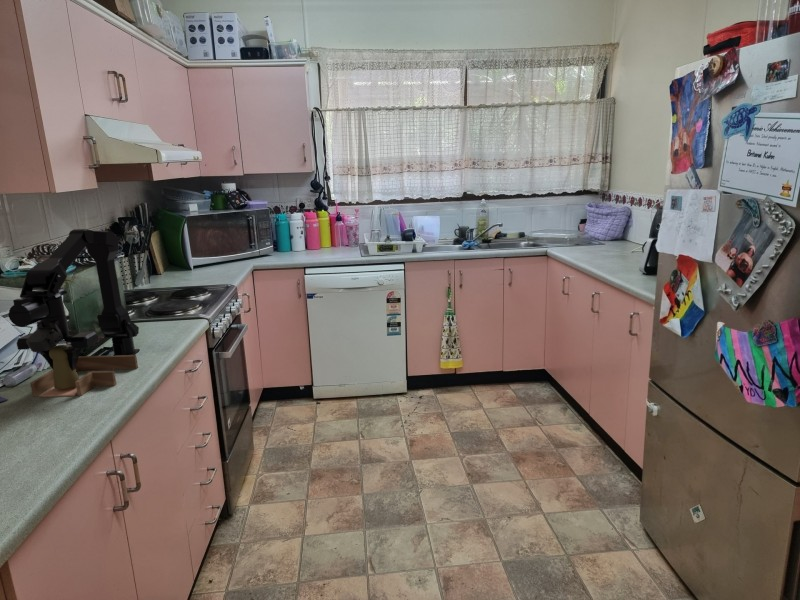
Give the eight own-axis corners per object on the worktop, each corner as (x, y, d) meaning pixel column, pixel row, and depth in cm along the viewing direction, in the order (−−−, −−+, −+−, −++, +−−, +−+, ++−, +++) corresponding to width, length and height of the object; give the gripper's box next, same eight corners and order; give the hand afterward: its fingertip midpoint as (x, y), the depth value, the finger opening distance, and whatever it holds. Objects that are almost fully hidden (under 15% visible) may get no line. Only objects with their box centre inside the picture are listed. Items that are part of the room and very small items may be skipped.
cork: (84, 379, 145) (77, 341, 142) (72, 388, 139) (64, 349, 137) (62, 380, 145) (54, 342, 142) (49, 389, 139) (40, 350, 136)
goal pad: (62, 382, 147) (62, 381, 147) (94, 381, 147) (93, 380, 147) (40, 396, 138) (40, 395, 138) (74, 395, 138) (73, 394, 138)
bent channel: (77, 369, 157) (74, 356, 156) (138, 367, 156) (136, 355, 155) (33, 396, 138) (30, 382, 137) (102, 395, 138) (99, 381, 137)
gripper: (-6, 325, 130) (8, 383, 134) (68, 323, 129) (80, 381, 133) (25, 312, 140) (38, 366, 144) (94, 310, 140) (104, 365, 144)
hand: (64, 370), depth 141 cm, fingers closed on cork, 4 cm apart
